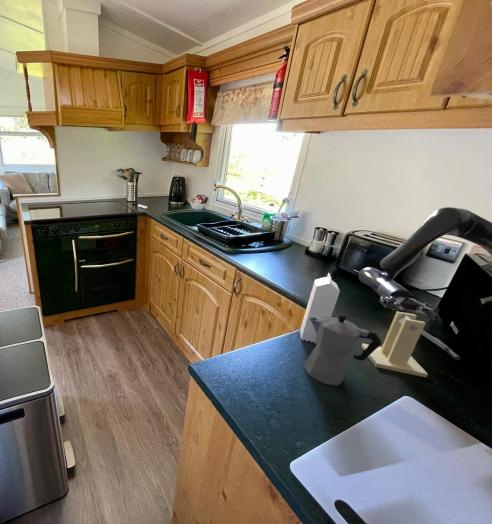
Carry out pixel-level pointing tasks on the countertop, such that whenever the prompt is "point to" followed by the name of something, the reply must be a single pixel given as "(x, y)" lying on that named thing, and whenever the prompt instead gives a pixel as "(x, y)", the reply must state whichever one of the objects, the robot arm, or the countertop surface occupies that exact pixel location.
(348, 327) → the coffeepot
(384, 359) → the bracket
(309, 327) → the milk
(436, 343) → the lever
